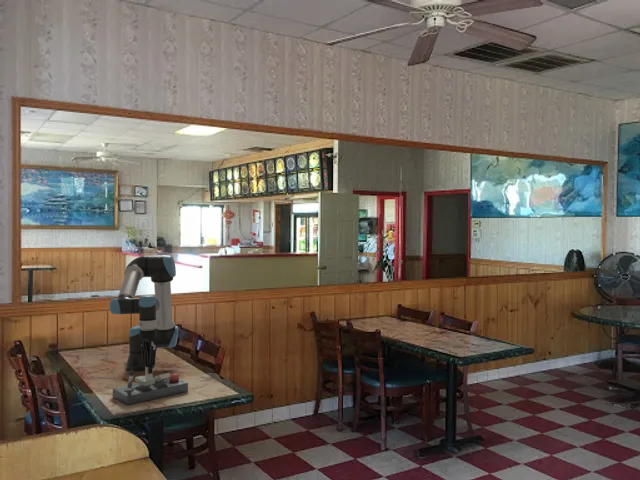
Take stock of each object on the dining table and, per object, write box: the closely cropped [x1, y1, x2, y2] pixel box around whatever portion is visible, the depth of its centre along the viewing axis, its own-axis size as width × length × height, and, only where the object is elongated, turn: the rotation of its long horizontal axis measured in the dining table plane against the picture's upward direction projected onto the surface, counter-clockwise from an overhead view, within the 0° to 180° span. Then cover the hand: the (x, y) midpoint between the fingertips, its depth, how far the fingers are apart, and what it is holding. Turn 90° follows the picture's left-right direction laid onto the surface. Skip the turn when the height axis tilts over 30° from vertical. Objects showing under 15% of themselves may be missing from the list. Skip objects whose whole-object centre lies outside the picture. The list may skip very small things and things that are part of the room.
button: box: [169, 372, 180, 382], centre depth 271 cm, size 4×4×3 cm
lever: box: [127, 370, 136, 389], centre depth 255 cm, size 3×3×10 cm
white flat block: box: [134, 375, 155, 386], centre depth 261 cm, size 10×5×2 cm, turn 42°
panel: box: [112, 377, 189, 406], centre depth 263 cm, size 16×30×5 cm, turn 132°
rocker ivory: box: [153, 372, 171, 381], centre depth 266 cm, size 10×5×2 cm, turn 42°
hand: (149, 380), depth 257 cm, fingers closed
